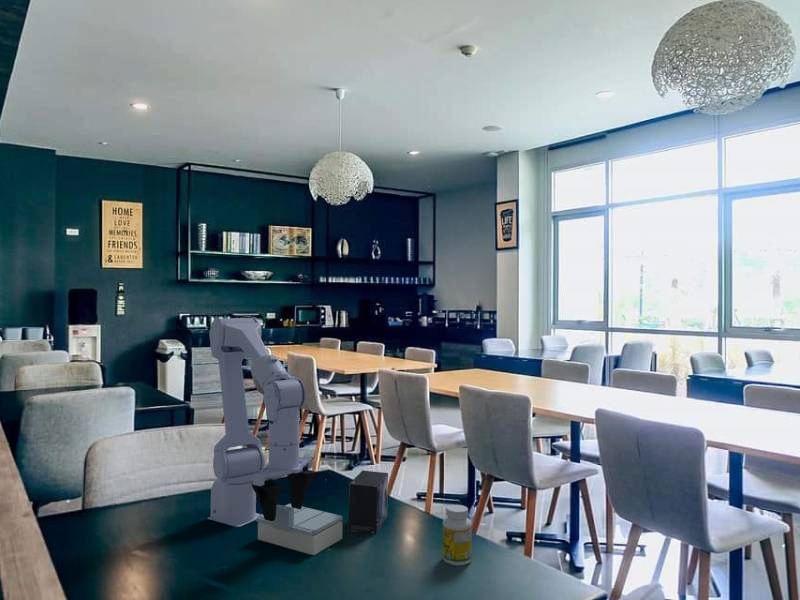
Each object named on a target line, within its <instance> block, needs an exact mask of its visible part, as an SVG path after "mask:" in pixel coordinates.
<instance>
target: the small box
mask: <svg viewBox="0 0 800 600" xmlns="http://www.w3.org/2000/svg"><path fill="white" fill-rule="evenodd" d="M351 480H352V481H350V483H349V484H348V515H347V516H348V519H347V520H348V521H347V523H348V524H347V532H348V533H358V534H371V535H377V534H378V532H379V531H380V529H381V528H382V526H383V524H385V522H386V520H387V518H388V499H389V497H388V495H389V489H388V488H389V473H388V472H380V471H373V470H361V471H360V472H359V473H358V474H357V476H355V477H354V478H353V479H351Z"/></svg>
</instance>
